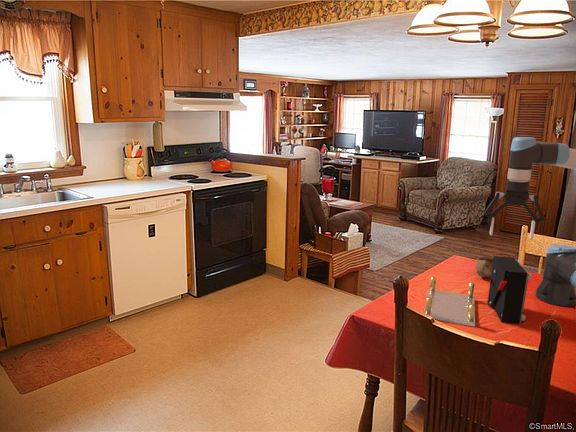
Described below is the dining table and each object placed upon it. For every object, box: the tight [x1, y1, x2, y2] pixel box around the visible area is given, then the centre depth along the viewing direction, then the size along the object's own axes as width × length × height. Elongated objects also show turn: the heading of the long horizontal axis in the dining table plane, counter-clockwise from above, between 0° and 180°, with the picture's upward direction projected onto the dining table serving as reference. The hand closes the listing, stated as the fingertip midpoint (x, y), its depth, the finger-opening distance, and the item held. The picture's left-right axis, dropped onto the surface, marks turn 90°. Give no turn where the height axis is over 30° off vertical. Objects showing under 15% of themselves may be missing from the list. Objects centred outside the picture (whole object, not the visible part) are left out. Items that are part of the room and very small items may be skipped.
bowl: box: [475, 255, 495, 278], centre depth 211 cm, size 18×14×10 cm
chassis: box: [423, 276, 476, 327], centre depth 176 cm, size 18×26×8 cm
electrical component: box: [487, 255, 533, 325], centre depth 171 cm, size 18×10×20 cm, turn 168°
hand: (510, 236), depth 168 cm, fingers open, 13 cm apart
